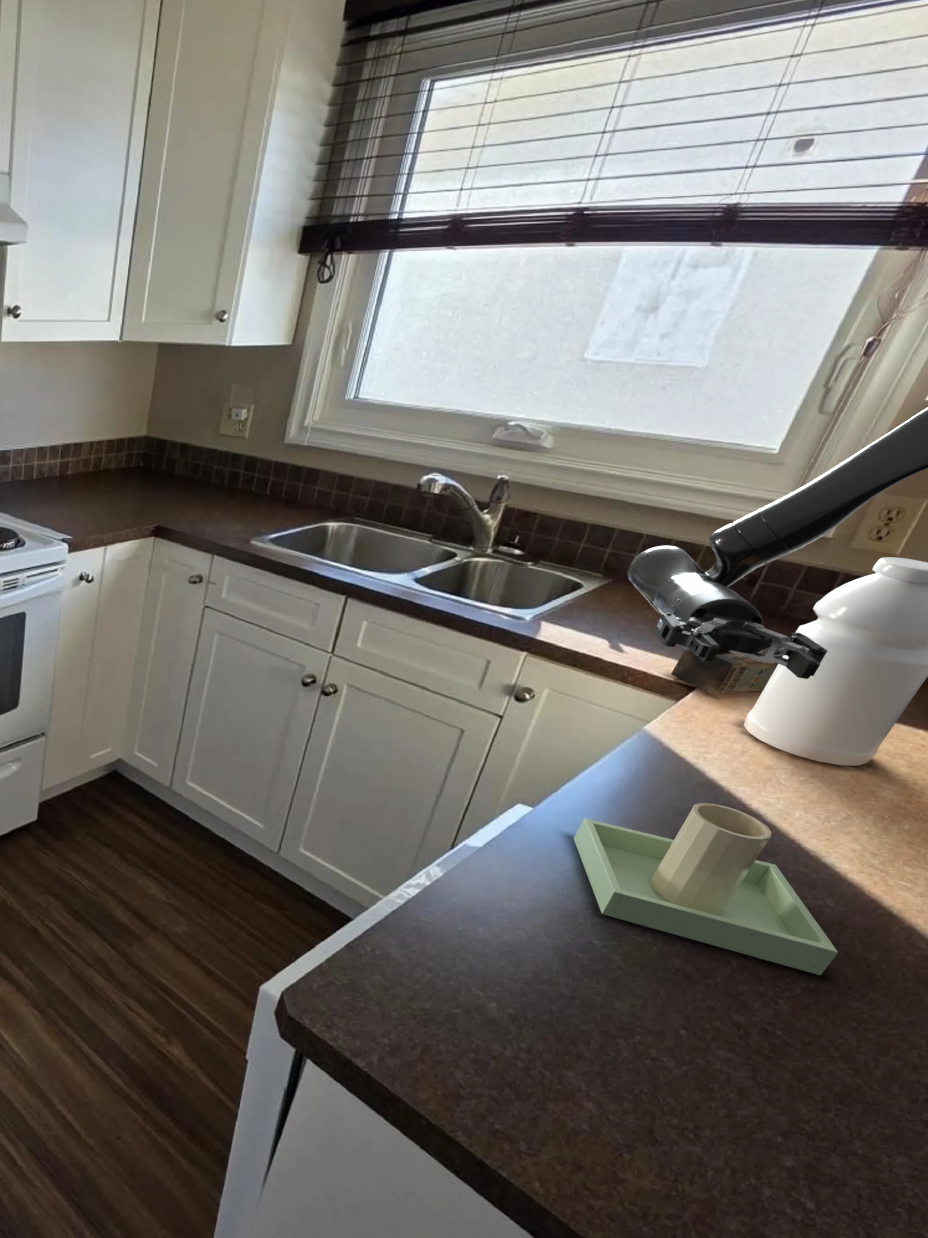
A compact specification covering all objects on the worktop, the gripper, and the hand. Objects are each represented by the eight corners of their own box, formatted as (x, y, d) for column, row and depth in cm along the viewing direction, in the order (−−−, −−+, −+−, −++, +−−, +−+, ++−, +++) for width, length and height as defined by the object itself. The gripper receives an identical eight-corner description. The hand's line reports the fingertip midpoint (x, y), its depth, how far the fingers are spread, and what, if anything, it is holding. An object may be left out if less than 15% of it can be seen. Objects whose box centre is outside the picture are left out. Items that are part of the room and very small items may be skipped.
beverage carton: (802, 690, 136) (823, 655, 133) (713, 697, 132) (733, 661, 129) (752, 670, 143) (771, 636, 140) (666, 676, 139) (683, 641, 136)
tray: (761, 886, 89) (775, 864, 88) (820, 975, 77) (838, 952, 76) (573, 838, 96) (583, 817, 94) (601, 914, 84) (614, 891, 83)
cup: (711, 887, 88) (757, 813, 83) (731, 922, 83) (782, 845, 78) (643, 869, 90) (684, 796, 85) (659, 902, 85) (704, 827, 81)
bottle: (730, 711, 128) (826, 542, 115) (847, 735, 122) (961, 560, 109) (757, 749, 117) (866, 567, 104) (887, 778, 111) (1019, 589, 98)
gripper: (765, 654, 102) (824, 706, 89) (629, 632, 107) (666, 678, 94) (796, 599, 99) (862, 645, 85) (654, 579, 104) (695, 619, 91)
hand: (759, 662), depth 90 cm, fingers open, 8 cm apart
